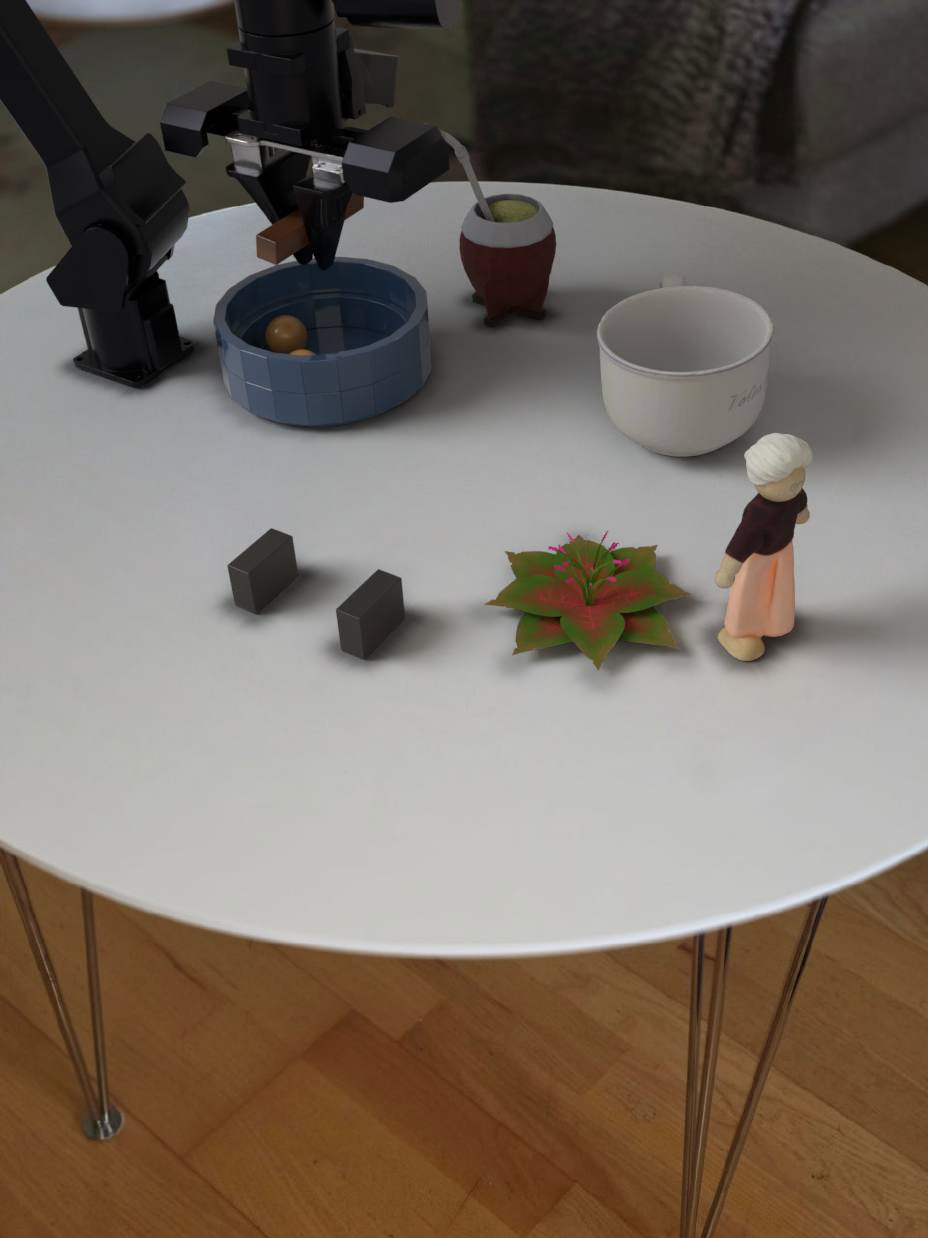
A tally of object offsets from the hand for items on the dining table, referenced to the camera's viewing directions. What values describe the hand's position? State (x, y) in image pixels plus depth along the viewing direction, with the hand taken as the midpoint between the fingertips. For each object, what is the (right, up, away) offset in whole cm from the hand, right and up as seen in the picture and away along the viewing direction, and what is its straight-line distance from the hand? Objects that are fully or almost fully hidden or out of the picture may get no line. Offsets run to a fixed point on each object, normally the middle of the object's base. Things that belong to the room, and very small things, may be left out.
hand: (316, 264), depth 91 cm
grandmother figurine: (+26, -24, -15) cm, 39 cm away
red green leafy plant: (+17, -23, -13) cm, 31 cm away
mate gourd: (+13, 0, +13) cm, 18 cm away
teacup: (+24, -10, +1) cm, 26 cm away
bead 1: (-3, -3, +7) cm, 8 cm away
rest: (+2, -23, -13) cm, 27 cm away
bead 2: (-1, -6, +3) cm, 7 cm away
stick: (0, +2, -2) cm, 2 cm away
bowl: (0, -6, +6) cm, 9 cm away
